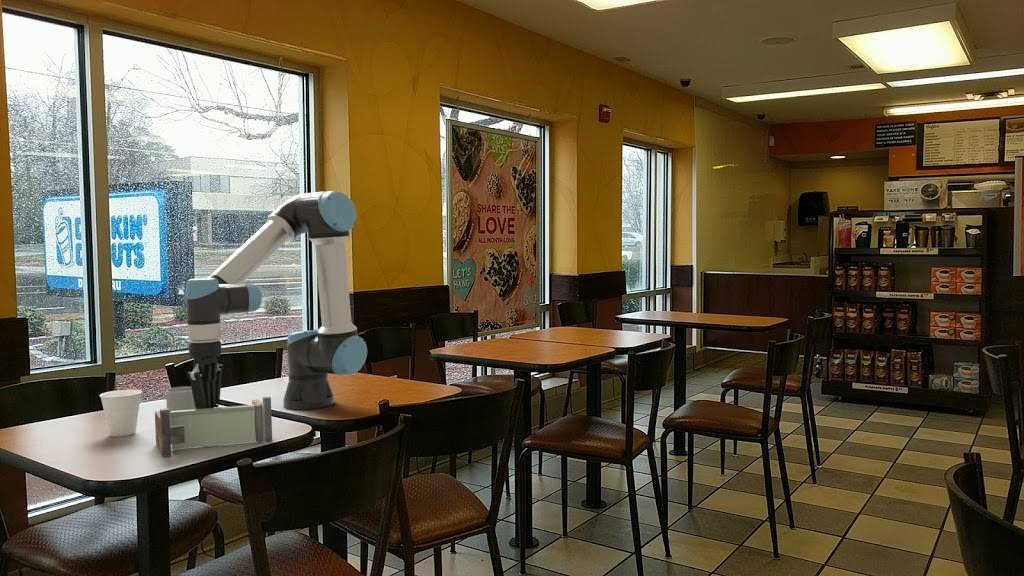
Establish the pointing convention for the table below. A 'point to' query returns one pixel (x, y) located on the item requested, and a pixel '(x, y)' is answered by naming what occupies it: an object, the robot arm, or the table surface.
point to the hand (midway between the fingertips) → (208, 434)
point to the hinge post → (265, 417)
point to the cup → (121, 411)
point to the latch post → (167, 432)
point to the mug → (180, 399)
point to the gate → (219, 425)
